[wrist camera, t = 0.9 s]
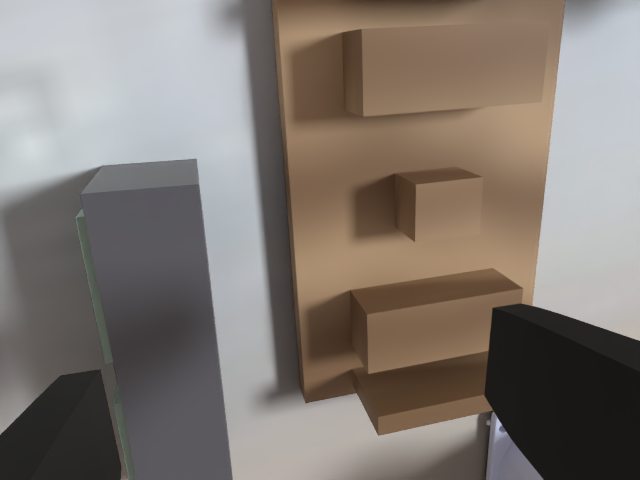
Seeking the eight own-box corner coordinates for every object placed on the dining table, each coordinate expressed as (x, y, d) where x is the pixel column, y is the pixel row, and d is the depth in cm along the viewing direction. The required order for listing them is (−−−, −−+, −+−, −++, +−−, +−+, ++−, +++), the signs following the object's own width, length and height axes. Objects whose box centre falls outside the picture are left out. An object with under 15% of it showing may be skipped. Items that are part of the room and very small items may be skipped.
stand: (513, 347, 23) (573, 400, 20) (300, 388, 21) (324, 456, 18) (551, -47, 18) (646, -75, 14) (268, -44, 16) (292, -76, 12)
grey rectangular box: (228, 438, 21) (236, 516, 18) (147, 454, 21) (138, 538, 17) (196, 157, 17) (198, 184, 14) (93, 164, 17) (67, 194, 13)
